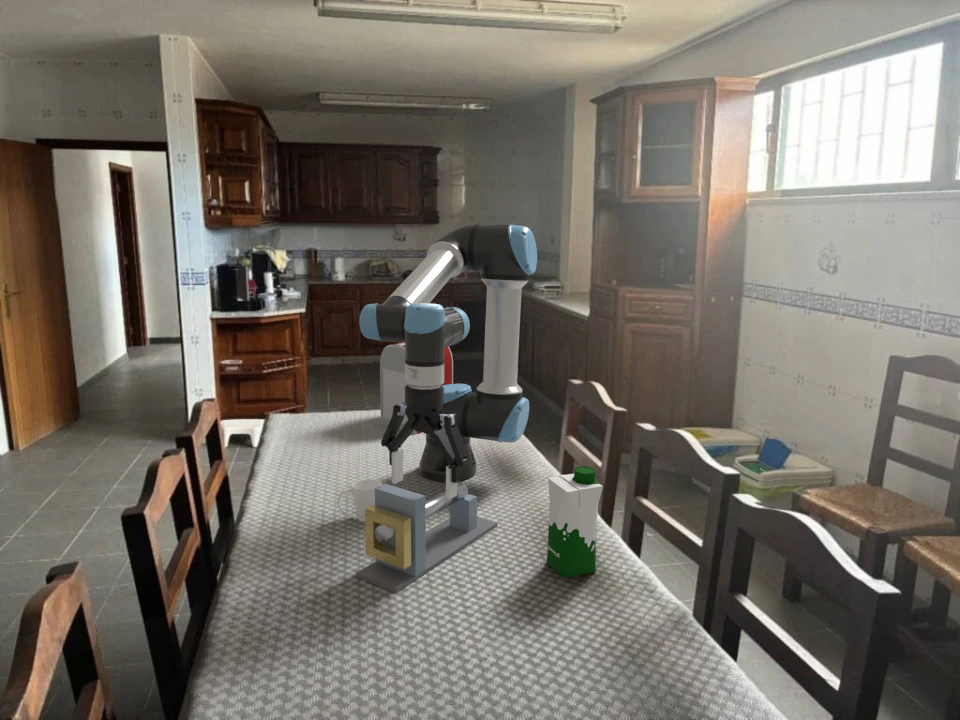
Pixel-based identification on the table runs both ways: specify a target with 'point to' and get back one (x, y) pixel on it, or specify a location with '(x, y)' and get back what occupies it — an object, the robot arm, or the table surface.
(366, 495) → the cup
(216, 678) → the table surface
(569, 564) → the milk carton
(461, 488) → the shaft
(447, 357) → the red grey striped box
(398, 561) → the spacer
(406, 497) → the rig
